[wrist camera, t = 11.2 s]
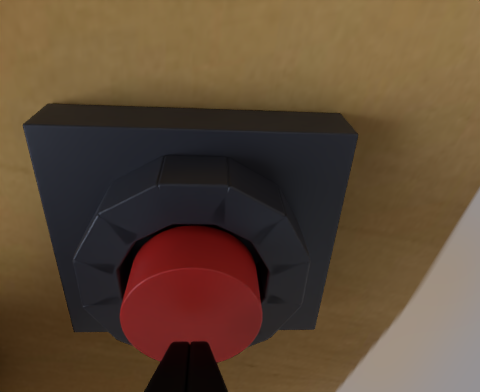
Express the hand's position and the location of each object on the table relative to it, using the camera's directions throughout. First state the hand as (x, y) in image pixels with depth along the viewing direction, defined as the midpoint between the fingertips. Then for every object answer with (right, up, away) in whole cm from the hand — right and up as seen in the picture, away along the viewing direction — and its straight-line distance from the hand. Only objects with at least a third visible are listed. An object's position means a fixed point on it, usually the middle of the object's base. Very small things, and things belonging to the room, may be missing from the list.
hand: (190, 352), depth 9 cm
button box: (0, +3, +5) cm, 6 cm away
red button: (0, +1, +2) cm, 3 cm away
